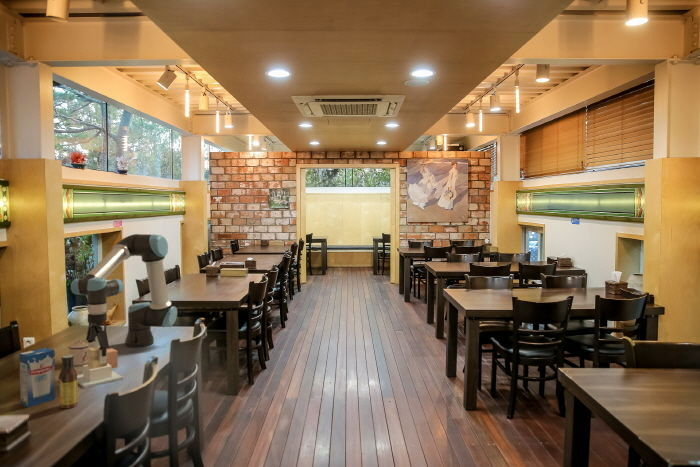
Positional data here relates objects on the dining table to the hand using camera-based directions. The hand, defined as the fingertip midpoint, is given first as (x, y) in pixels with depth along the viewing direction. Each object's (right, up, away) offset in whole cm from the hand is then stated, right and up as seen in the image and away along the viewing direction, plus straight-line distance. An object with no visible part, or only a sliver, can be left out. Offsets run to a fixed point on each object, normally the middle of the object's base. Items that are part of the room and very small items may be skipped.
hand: (97, 359), depth 217 cm
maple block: (0, -3, 0) cm, 3 cm away
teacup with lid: (-21, -8, +24) cm, 32 cm away
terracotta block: (-4, -8, +17) cm, 19 cm away
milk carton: (-10, -10, -26) cm, 30 cm away
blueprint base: (0, -9, 0) cm, 9 cm away
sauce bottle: (+4, -10, -30) cm, 32 cm away
